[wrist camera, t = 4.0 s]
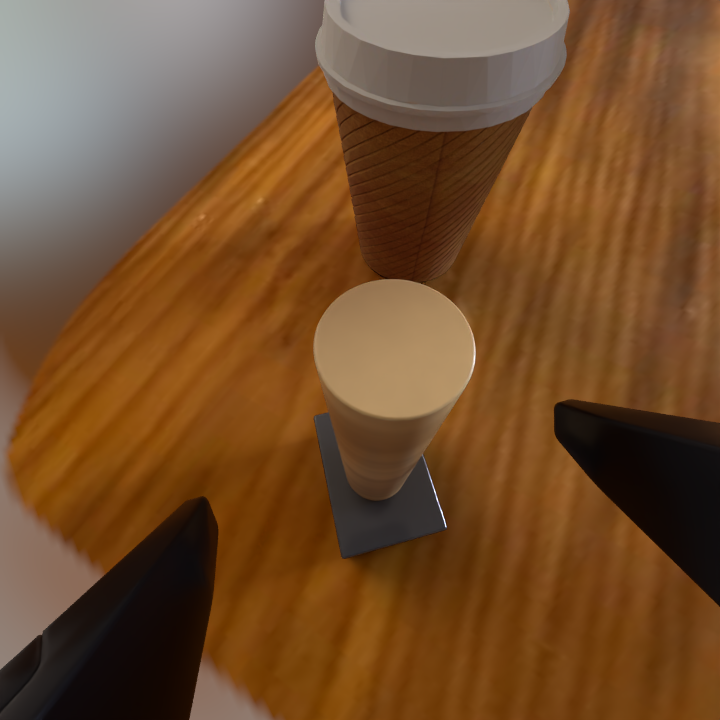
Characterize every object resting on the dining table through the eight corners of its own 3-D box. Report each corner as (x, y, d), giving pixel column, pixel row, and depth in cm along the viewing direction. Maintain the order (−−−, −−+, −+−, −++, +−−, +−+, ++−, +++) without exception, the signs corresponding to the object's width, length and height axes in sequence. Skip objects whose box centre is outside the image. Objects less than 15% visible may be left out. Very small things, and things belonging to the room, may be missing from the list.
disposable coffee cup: (372, 180, 26) (378, -67, 16) (500, 220, 24) (605, -32, 14) (308, 272, 23) (257, 28, 12) (454, 328, 21) (550, 95, 10)
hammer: (434, 531, 16) (620, 499, 4) (345, 556, 16) (288, 595, 4) (398, 415, 18) (454, 194, 7) (320, 434, 18) (239, 234, 6)
